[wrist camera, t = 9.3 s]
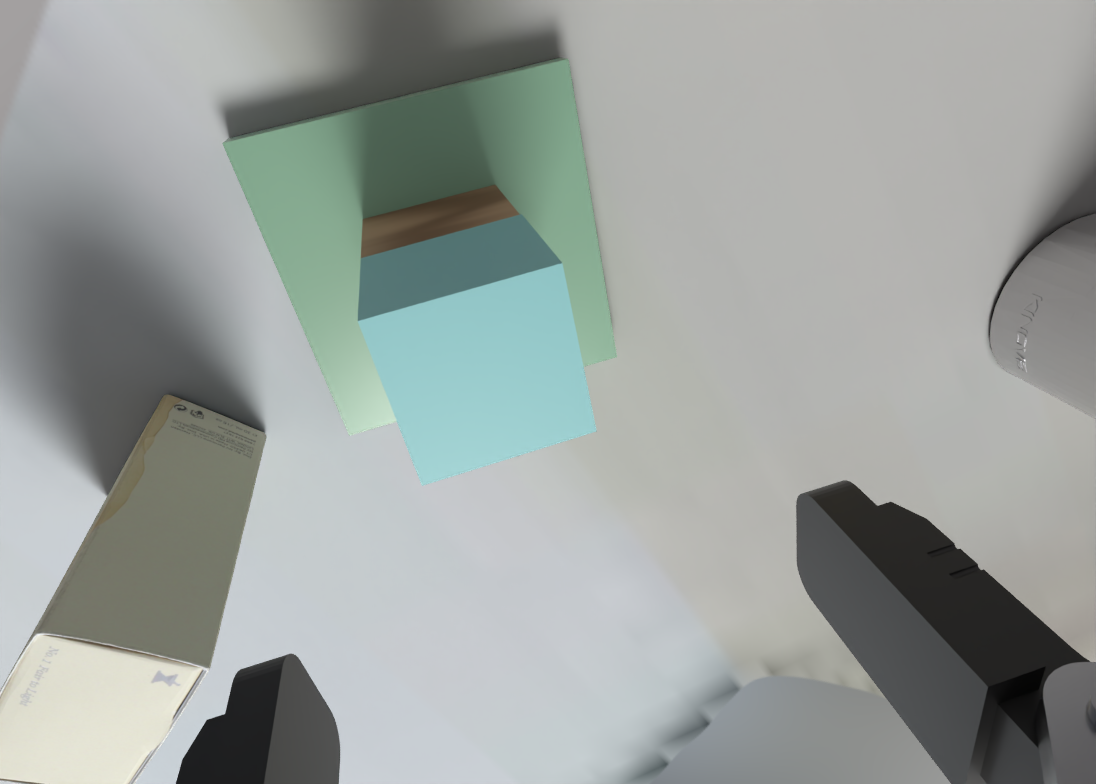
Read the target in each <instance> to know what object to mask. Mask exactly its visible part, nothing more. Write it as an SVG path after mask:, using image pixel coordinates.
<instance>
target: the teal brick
mask: <svg viewBox="0 0 1096 784" xmlns="http://www.w3.org/2000/svg"><path fill="white" fill-rule="evenodd" d="M358 324H359V326H360V329H361V331H362V334H363V336H364V339H365V341H366V344H367V347H368V349H369V352H370V354H371V357H372V359H373V362H374V364H375V367H376V369H377V372H378V375H379V377H380V380H381V382H382V385H383V387H384V390H385V392H386V395H387V397H388V400H389V403H390V405H391V408H392V410H393V413H394V415H395V418H396V420H397V423H398V426H399V428H400V431H401V433H402V436H403V438H404V441H405V443H406V446H407V448H408V451H409V454H410V456H411V459H412V461H413V464H414V466H415V469H416V471H417V474H418V476H419V479H420V482H421V484H422V486H423V485H426V484H429V483H432V482H436V481H439V480H442V479H445V478H448V477H452V476H455V475H458V474H461V473H464V472H468V471H471V470H474V469H477V468H481V467H484V466H487V465H490V464H493V463H497V462H500V461H503V460H506V459H509V458H513V457H516V456H519V455H522V454H525V453H529V452H532V451H535V450H538V449H541V448H545V447H548V446H551V445H554V444H557V443H561V442H564V441H567V440H570V439H573V438H577V437H580V436H583V435H586V434H589V433H593V432H596V426H595V421H594V416H593V411H592V406H591V401H590V396H589V391H588V387H587V382H586V377H585V372H584V367H583V362H582V357H581V352H580V347H579V342H578V337H577V332H576V327H575V323H574V318H573V313H572V308H571V303H570V298H569V293H568V288H567V283H566V278H565V273H564V268H563V264H562V262H561V261H560V260H559V258H558V257H557V256H556V255H555V254H554V252H553V251H552V250H551V249H550V247H549V246H548V245H547V244H546V243H545V241H544V240H543V239H542V238H541V237H540V235H539V234H538V233H537V232H536V231H535V229H534V228H533V227H532V226H531V225H530V223H529V222H528V221H527V220H526V219H525V217H524V216H523V215H522V214H520V215H516V216H513V217H509V218H506V219H502V220H498V221H495V222H491V223H487V224H484V225H480V226H476V227H473V228H469V229H465V230H462V231H458V232H455V233H451V234H447V235H444V236H440V237H436V238H433V239H429V240H425V241H422V242H418V243H414V244H411V245H407V246H404V247H400V248H396V249H393V250H389V251H385V252H382V253H378V254H374V255H371V256H367V257H364V258H361V264H360V283H359V303H358Z"/></svg>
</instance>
